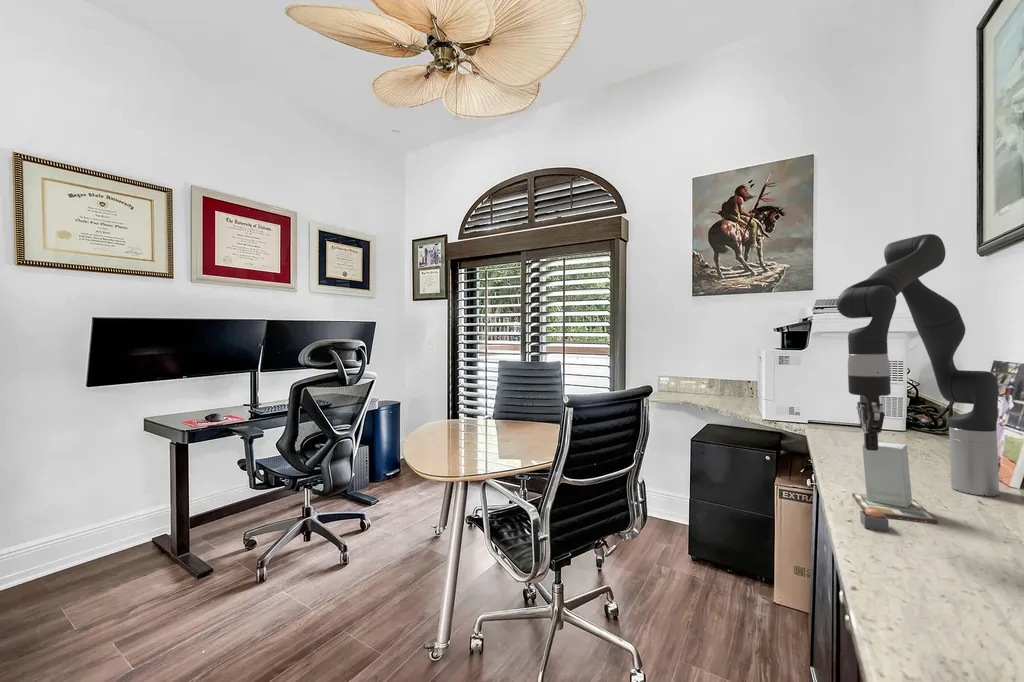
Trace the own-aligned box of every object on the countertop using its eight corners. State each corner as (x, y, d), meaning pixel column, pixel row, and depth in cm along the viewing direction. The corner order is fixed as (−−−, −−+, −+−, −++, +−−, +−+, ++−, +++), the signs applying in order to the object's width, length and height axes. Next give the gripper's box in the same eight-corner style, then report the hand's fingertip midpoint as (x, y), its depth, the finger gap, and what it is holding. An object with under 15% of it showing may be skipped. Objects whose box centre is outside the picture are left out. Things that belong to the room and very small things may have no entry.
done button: (864, 514, 103) (863, 507, 103) (880, 516, 102) (880, 509, 102) (867, 518, 101) (867, 511, 101) (884, 520, 99) (883, 513, 99)
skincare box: (912, 503, 112) (909, 444, 112) (906, 509, 108) (904, 448, 109) (870, 495, 119) (868, 439, 119) (864, 500, 115) (861, 442, 115)
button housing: (860, 521, 104) (860, 510, 104) (883, 524, 102) (882, 513, 102) (865, 528, 100) (864, 516, 100) (888, 531, 98) (888, 519, 98)
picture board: (852, 496, 121) (852, 492, 121) (914, 502, 115) (914, 499, 115) (866, 515, 108) (865, 511, 108) (937, 523, 102) (936, 519, 102)
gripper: (898, 375, 94) (901, 457, 94) (881, 372, 106) (883, 445, 106) (854, 375, 98) (857, 454, 97) (842, 372, 109) (845, 442, 109)
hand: (871, 449), depth 101 cm, fingers closed
